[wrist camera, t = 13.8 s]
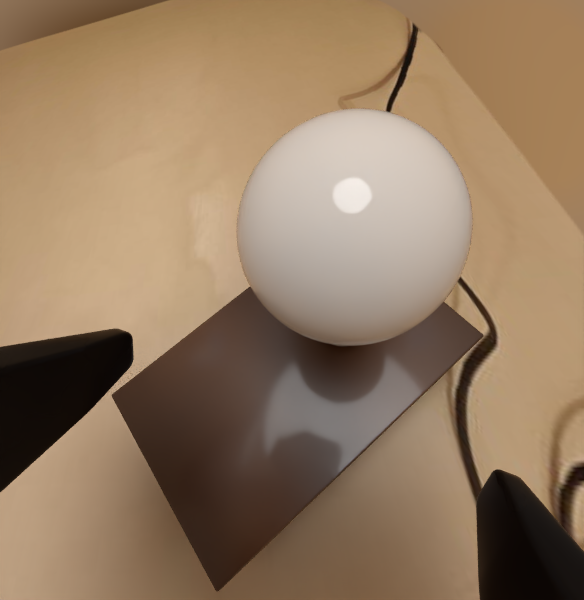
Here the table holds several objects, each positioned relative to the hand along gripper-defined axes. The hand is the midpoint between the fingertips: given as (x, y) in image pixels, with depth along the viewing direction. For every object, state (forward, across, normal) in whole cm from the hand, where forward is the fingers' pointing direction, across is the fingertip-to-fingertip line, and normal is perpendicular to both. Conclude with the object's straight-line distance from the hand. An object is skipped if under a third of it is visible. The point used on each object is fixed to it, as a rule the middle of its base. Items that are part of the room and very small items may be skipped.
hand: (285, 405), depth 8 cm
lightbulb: (+9, 0, +2) cm, 9 cm away
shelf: (+11, +2, +8) cm, 13 cm away
